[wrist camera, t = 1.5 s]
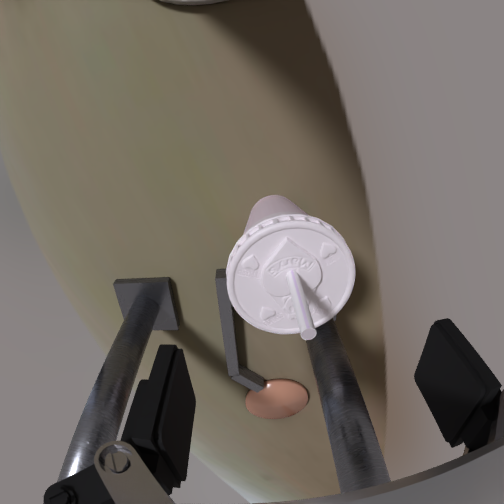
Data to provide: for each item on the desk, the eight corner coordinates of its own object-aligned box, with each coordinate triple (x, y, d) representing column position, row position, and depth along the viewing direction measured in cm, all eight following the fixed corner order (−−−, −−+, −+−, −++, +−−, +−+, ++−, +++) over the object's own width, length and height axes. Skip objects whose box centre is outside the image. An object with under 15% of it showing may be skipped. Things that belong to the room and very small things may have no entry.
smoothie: (311, 171, 22) (398, 251, 9) (319, 249, 25) (383, 381, 12) (224, 185, 22) (198, 284, 9) (240, 262, 25) (239, 408, 12)
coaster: (243, 380, 31) (243, 385, 30) (309, 375, 31) (310, 379, 30) (247, 416, 34) (247, 420, 33) (305, 412, 34) (305, 416, 33)
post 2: (279, 271, 25) (329, 532, 7) (338, 267, 25) (448, 495, 7) (279, 320, 27) (314, 548, 9) (333, 315, 27) (406, 525, 9)
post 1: (116, 279, 25) (6, 485, 7) (169, 277, 25) (90, 519, 7) (130, 324, 27) (57, 520, 9) (179, 324, 27) (134, 543, 9)
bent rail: (216, 269, 25) (215, 278, 24) (258, 266, 25) (259, 276, 24) (232, 383, 31) (231, 393, 29) (263, 381, 31) (264, 392, 29)
